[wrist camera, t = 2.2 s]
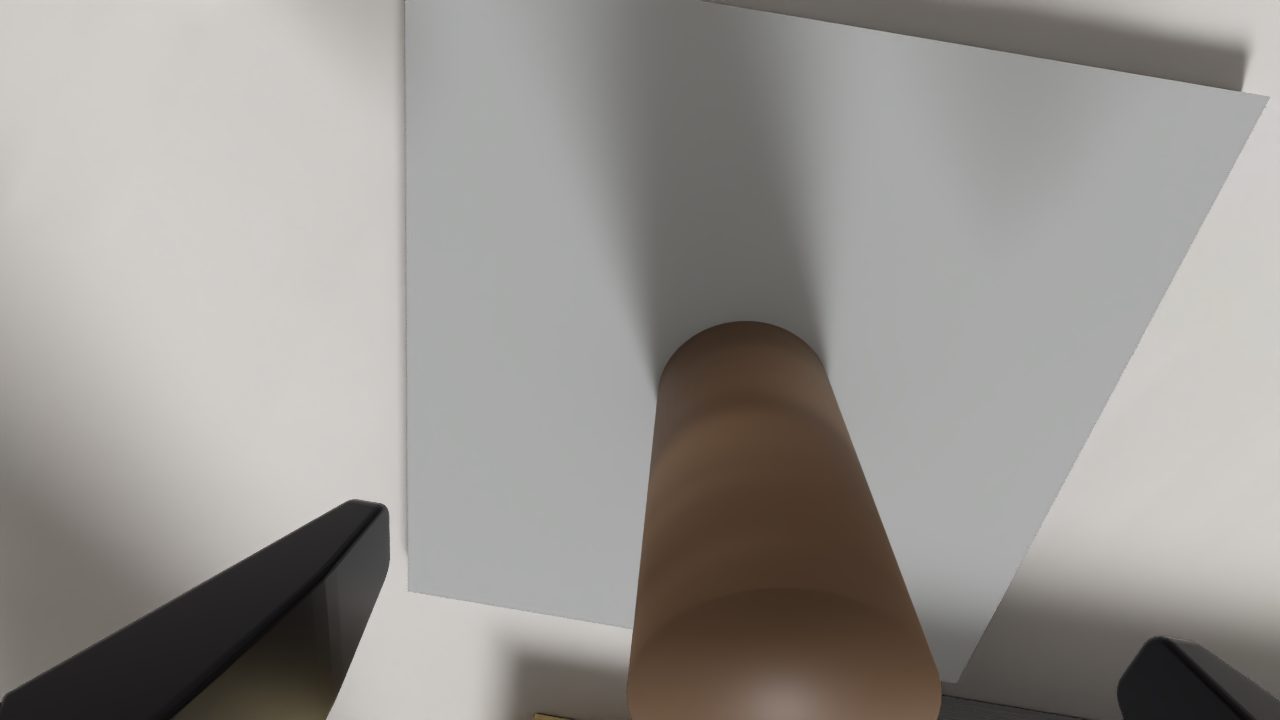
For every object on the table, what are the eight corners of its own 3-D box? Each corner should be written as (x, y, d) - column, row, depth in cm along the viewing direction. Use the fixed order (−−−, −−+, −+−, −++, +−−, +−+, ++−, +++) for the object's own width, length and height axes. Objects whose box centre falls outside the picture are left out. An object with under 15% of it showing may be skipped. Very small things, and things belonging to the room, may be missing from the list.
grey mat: (416, 574, 15) (408, 591, 15) (417, -47, 10) (404, -50, 9) (948, 664, 15) (956, 683, 15) (1243, 93, 10) (1270, 96, 9)
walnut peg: (645, 455, 13) (608, 771, 7) (673, 307, 11) (652, 561, 6) (804, 481, 13) (884, 819, 7) (850, 337, 11) (991, 620, 6)
